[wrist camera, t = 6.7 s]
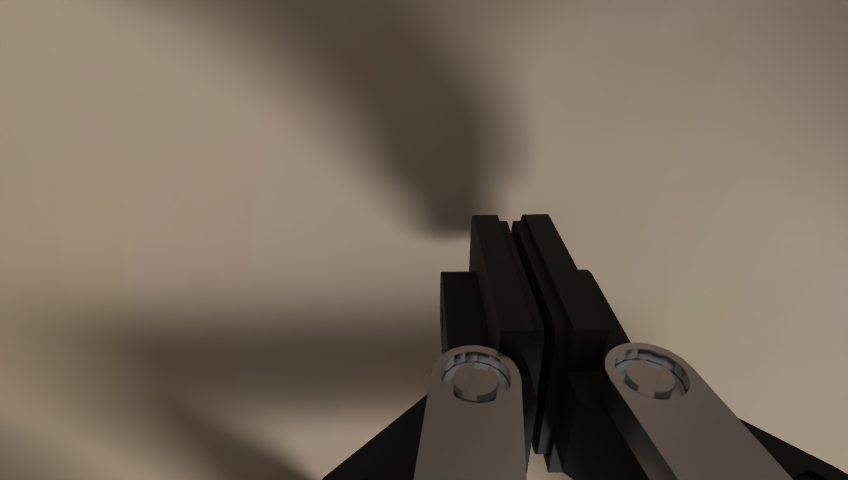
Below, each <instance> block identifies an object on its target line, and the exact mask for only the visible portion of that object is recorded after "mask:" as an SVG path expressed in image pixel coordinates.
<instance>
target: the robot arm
mask: <svg viewBox="0 0 848 480" xmlns="http://www.w3.org/2000/svg"><path fill="white" fill-rule="evenodd" d="M440 322H441V343H442V355H441V357H440V358H439V359H438V360H437V361H436V362H435V364H434V367H433V369H432V372H431V378H430V384H429V390H428V394H427V395H426V396H425V397H424V398H422V399H421V400H420V401H419V402H417V403H416V404H415V405H414V406H412V407H411V408H410V409H409V410H407V411H406V412H405V413H404V414H402V415H401V416H400V417H399V418H397V419H396V420H395V421H394V422H392V423H391V424H390V425H389V426H387V427H386V428H385V429H384V430H382V431H381V432H380V433H379V434H377V435H376V436H375V437H374V438H372V439H371V440H370V441H369V442H368V443H366V444H365V445H364V446H363V447H361V448H360V449H359V450H358V451H356V452H355V453H354V454H353V455H351V456H350V457H349V458H348V459H346V460H345V461H344V462H343V463H341V464H340V465H339V466H338V467H336V468H335V469H334V470H333V471H331V472H330V473H329V474H328V475H326V476H325V477H324V478H323V479H322V480H527V477H526V473H527V468H528V462H529V455H530V448H531V442H532V447H533V450H534V452H535V454H544V458H545V461H546V465H547V469H548V472H564V473H565V474H566V475H568V476H569V477H571V478H572V479H573V480H848V474H846V473H844V472H843V471H841V470H839V469H838V468H836V467H834V466H832V465H830V464H828V463H826V462H824V461H822V460H820V459H818V458H816V457H814V456H812V455H810V454H808V453H806V452H804V451H802V450H800V449H798V448H796V447H794V446H792V445H790V444H788V443H786V442H784V441H782V440H780V439H778V438H776V437H775V436H773V435H771V434H769V433H767V432H765V431H763V430H761V429H759V428H757V427H755V426H753V425H751V424H749V423H747V422H745V421H743V420H741V419H739V418H737V417H736V415H735V414H734V413H733V412H732V411H731V410H730V409H729V408H728V406H727V405H726V404H725V403H724V402H723V401H722V400H721V399H720V398H719V396H718V395H717V394H716V393H715V392H714V391H713V390H712V389H711V388H710V386H709V385H708V384H707V383H706V382H705V381H704V380H703V379H702V378H701V376H700V375H699V374H698V373H697V372H696V371H695V370H694V369H693V368H692V367H691V366H690V365H689V364H688V363H687V362H686V361H685V360H683V359H682V358H681V357H679V356H678V355H676V354H674V353H672V352H671V351H669V350H666V349H664V348H661V347H658V346H655V345H651V344H645V343H631V342H630V340H629V339H628V337H627V335H626V333H625V332H624V330H623V328H622V326H621V325H620V323H619V321H618V319H617V318H616V316H615V314H614V312H613V311H612V309H611V307H610V305H609V304H608V302H607V300H606V298H605V297H604V295H603V293H602V291H601V290H600V288H599V286H598V284H597V283H596V281H595V279H594V277H593V275H592V274H591V273H590V272H589V271H588V270H578V269H577V267H576V265H575V263H574V262H573V260H572V258H571V256H570V254H569V252H568V250H567V248H566V247H565V245H564V243H563V241H562V239H561V237H560V235H559V233H558V231H557V230H556V228H555V226H554V224H553V222H552V220H551V218H550V216H549V215H548V214H534V215H522V217H521V221H513V224H512V230H511V231H510V228H509V226H508V223H507V221H499V218H498V216H497V215H473V216H472V221H471V242H470V264H469V272H441V280H440Z"/></svg>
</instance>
